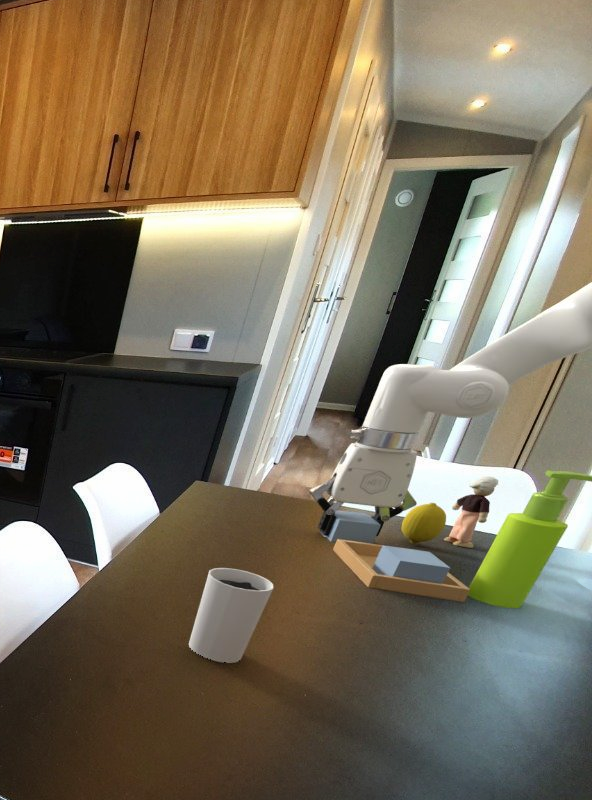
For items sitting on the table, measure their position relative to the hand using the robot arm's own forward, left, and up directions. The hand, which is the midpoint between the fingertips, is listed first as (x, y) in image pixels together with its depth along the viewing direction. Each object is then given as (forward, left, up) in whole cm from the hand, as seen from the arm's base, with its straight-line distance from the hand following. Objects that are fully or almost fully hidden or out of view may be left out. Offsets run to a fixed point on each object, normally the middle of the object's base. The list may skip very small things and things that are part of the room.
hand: (345, 535), depth 118 cm
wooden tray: (-2, +17, -1) cm, 17 cm away
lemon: (-12, -4, -1) cm, 13 cm away
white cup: (+29, +58, -1) cm, 65 cm away
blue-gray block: (0, 0, -1) cm, 1 cm away
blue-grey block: (-2, +21, 0) cm, 21 cm away
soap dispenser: (-13, +22, -1) cm, 26 cm away
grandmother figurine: (-20, -9, -1) cm, 22 cm away
